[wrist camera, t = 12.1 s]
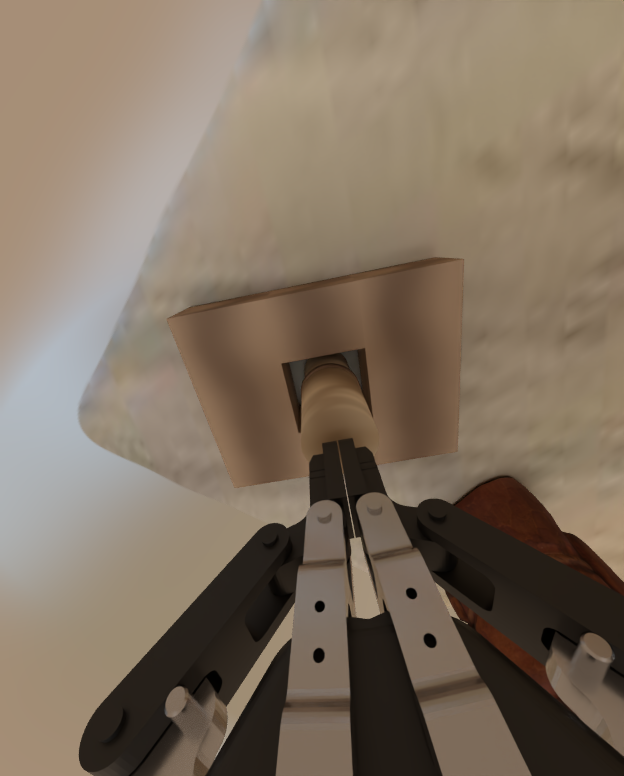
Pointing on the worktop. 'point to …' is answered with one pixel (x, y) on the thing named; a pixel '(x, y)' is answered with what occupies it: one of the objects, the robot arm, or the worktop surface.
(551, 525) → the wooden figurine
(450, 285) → the wooden board with hole
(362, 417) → the beech peg
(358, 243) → the worktop surface
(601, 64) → the worktop surface
